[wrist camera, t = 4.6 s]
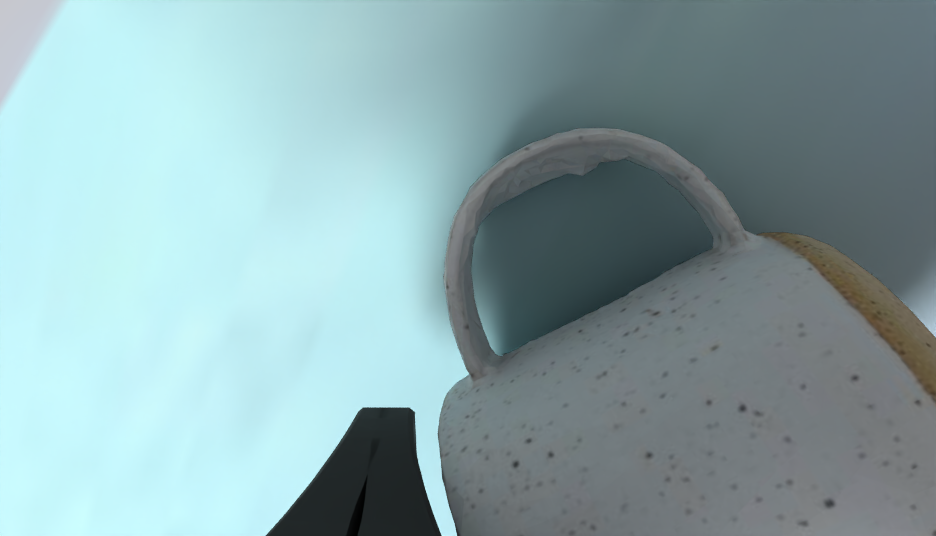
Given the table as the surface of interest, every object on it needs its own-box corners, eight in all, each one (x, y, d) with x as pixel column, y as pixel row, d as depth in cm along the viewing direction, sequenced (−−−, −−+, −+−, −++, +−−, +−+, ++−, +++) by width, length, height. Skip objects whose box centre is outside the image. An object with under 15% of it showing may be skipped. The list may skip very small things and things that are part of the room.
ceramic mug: (861, 383, 16) (1171, 701, 9) (588, 514, 18) (662, 857, 11) (673, 24, 12) (950, 77, 5) (358, 242, 14) (244, 493, 7)
